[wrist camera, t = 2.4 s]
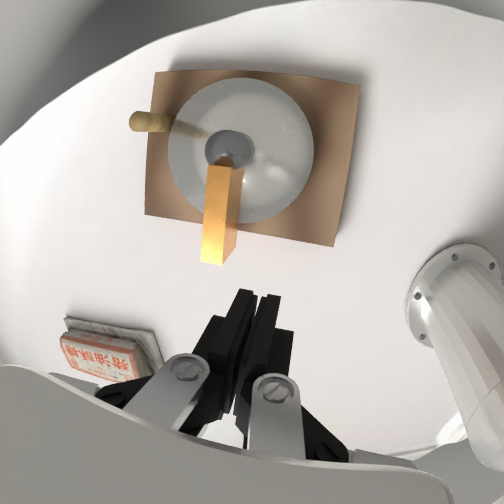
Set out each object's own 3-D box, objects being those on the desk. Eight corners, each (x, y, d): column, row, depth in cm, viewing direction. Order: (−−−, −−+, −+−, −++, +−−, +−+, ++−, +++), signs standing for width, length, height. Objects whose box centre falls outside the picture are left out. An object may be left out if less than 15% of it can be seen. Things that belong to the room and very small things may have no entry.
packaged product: (72, 377, 38) (49, 329, 35) (87, 361, 43) (67, 314, 39) (159, 405, 34) (137, 351, 31) (172, 382, 39) (155, 329, 35)
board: (356, 90, 21) (371, 71, 15) (331, 240, 26) (337, 271, 20) (165, 76, 23) (124, 61, 17) (154, 209, 29) (114, 229, 22)
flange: (181, 79, 21) (151, 68, 17) (322, 89, 20) (325, 73, 15) (169, 229, 27) (140, 248, 22) (297, 252, 25) (293, 279, 20)
